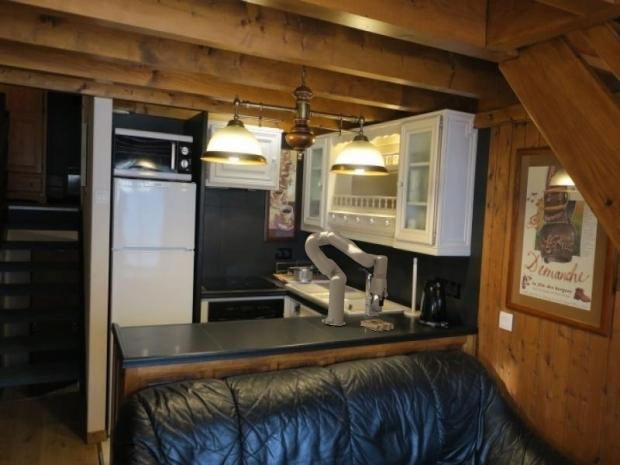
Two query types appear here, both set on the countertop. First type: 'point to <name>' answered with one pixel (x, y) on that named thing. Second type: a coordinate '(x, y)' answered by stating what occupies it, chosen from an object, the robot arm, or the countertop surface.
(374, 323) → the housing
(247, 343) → the countertop surface
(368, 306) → the supplement box
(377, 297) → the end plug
